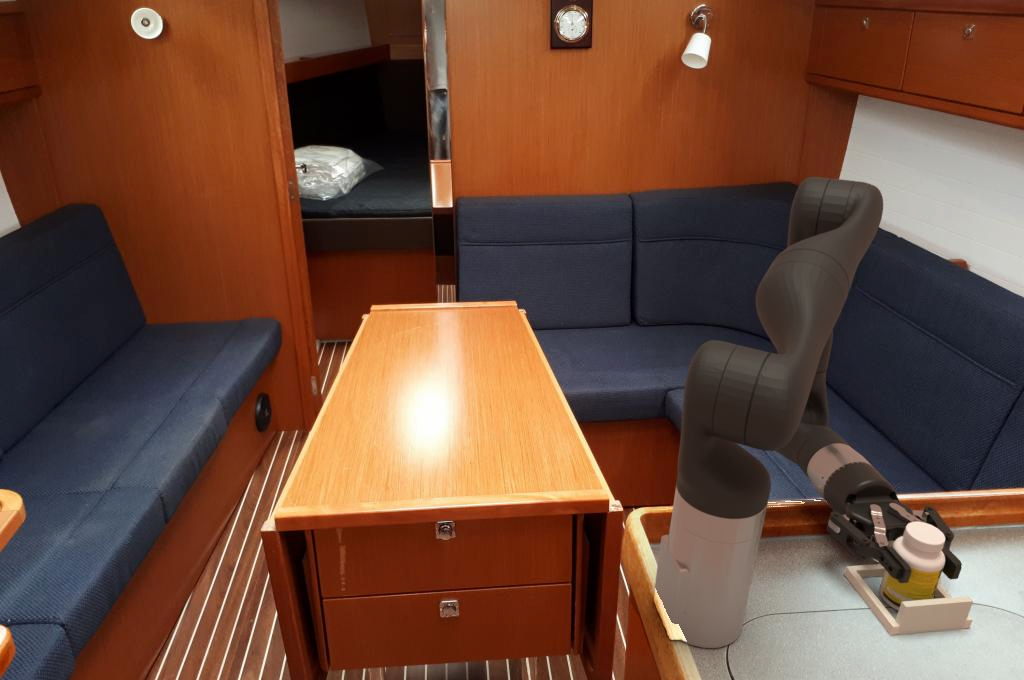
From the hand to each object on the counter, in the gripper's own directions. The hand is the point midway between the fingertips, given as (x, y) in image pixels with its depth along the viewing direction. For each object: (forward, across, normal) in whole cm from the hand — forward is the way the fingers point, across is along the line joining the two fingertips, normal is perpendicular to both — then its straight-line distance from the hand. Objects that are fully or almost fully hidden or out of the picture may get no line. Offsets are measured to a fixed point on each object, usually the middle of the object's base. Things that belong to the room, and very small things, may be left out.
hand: (931, 574), depth 82 cm
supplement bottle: (-3, 0, +6) cm, 7 cm away
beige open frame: (-3, 0, +6) cm, 7 cm away
